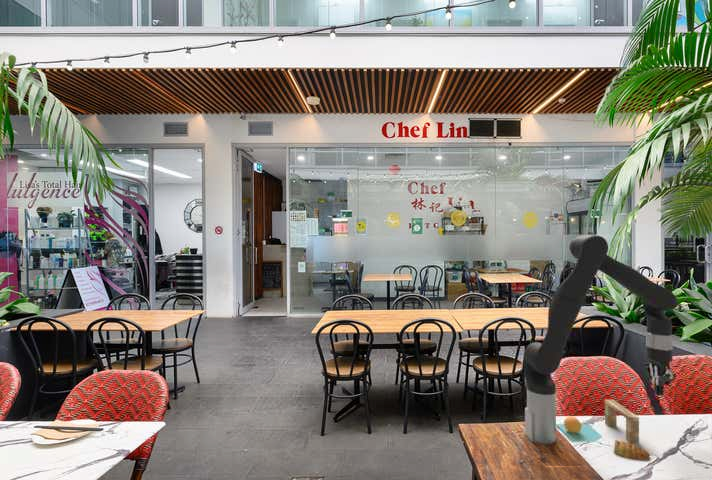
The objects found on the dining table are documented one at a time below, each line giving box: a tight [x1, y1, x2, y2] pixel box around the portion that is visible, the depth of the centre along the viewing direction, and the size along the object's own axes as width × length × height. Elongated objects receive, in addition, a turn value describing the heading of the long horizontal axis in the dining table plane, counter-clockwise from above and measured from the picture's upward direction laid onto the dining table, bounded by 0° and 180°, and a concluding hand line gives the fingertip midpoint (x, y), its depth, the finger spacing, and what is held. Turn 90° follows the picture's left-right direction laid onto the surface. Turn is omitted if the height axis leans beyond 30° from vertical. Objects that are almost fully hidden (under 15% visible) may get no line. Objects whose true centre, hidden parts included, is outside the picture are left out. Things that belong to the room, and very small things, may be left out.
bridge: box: [604, 399, 640, 444], centre depth 139 cm, size 3×14×9 cm, turn 177°
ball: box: [563, 416, 581, 434], centre depth 140 cm, size 6×6×6 cm
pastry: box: [613, 439, 650, 461], centre depth 125 cm, size 9×7×4 cm
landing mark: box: [556, 423, 603, 442], centre depth 140 cm, size 12×12×1 cm
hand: (658, 394), depth 138 cm, fingers closed
